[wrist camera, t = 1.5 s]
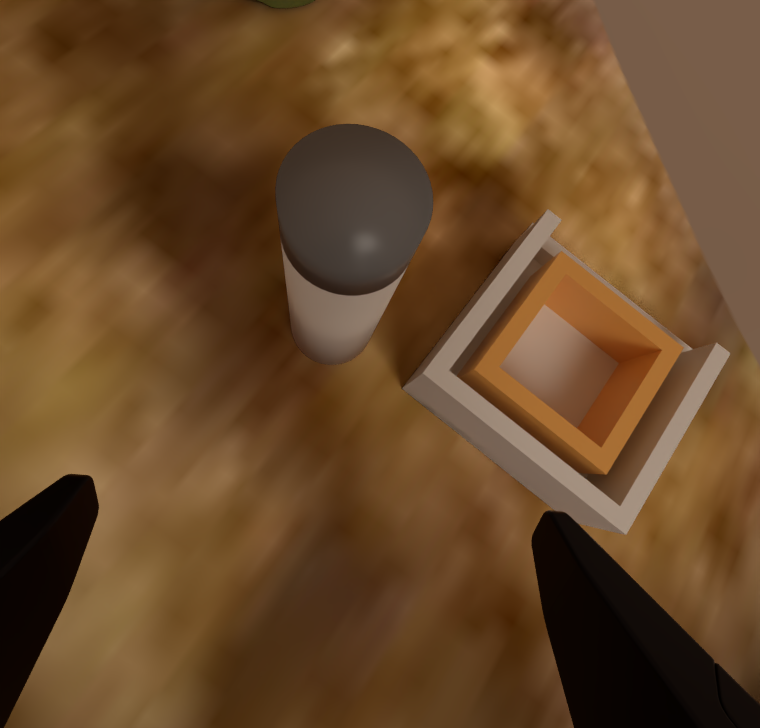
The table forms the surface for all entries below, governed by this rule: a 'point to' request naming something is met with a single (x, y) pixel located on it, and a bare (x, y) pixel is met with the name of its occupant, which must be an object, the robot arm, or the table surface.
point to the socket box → (566, 382)
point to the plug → (347, 233)
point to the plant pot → (286, 3)
